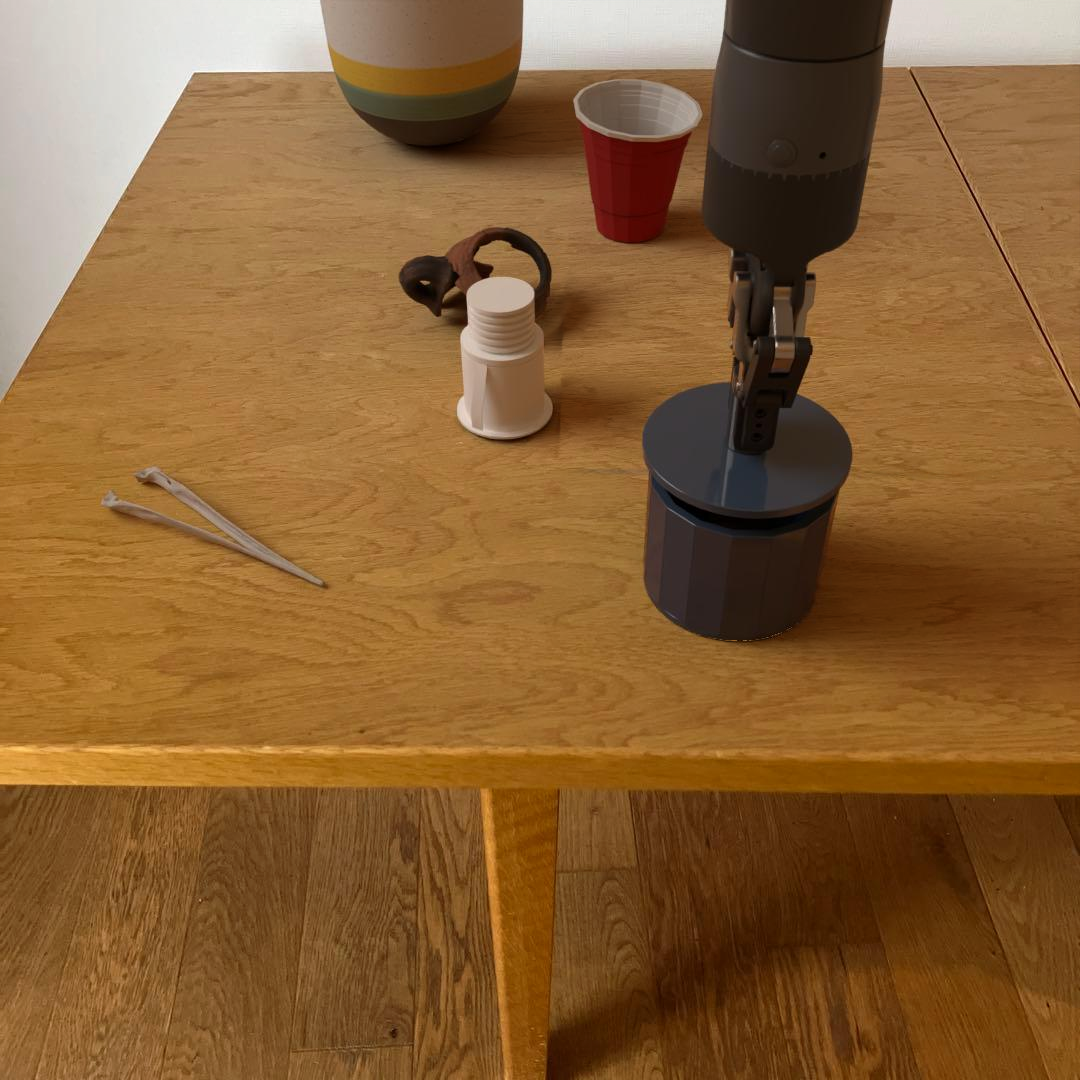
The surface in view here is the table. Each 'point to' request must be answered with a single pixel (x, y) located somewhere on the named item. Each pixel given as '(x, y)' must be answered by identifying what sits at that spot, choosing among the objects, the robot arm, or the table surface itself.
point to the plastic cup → (634, 152)
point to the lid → (745, 455)
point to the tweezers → (208, 512)
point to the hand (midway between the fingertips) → (749, 429)
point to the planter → (425, 63)
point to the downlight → (502, 362)
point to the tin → (733, 566)
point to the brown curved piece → (469, 269)
